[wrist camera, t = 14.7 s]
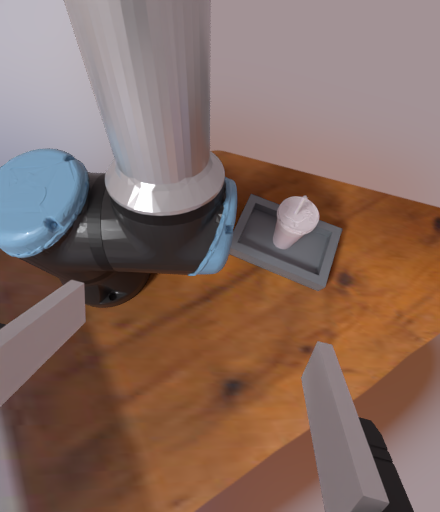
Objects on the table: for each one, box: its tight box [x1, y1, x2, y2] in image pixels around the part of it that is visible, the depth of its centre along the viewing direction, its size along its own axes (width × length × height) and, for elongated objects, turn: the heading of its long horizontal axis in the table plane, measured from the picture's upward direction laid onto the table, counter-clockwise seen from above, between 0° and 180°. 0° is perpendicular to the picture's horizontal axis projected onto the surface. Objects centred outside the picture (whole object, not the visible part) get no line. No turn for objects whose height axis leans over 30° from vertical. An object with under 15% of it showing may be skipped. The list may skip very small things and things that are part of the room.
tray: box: [229, 194, 342, 291], centre depth 48 cm, size 18×12×3 cm, turn 66°
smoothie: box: [273, 196, 319, 249], centre depth 42 cm, size 6×6×14 cm
